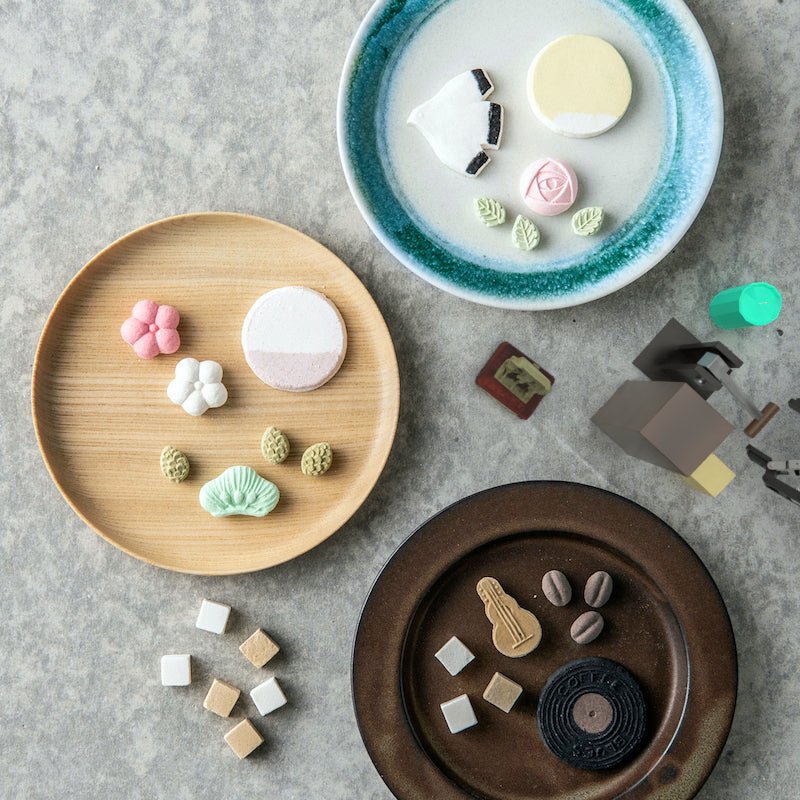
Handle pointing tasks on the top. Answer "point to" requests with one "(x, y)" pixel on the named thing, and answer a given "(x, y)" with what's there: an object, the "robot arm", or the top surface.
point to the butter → (710, 476)
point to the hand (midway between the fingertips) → (768, 425)
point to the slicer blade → (739, 394)
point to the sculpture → (514, 380)
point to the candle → (746, 306)
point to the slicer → (683, 359)
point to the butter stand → (663, 424)
